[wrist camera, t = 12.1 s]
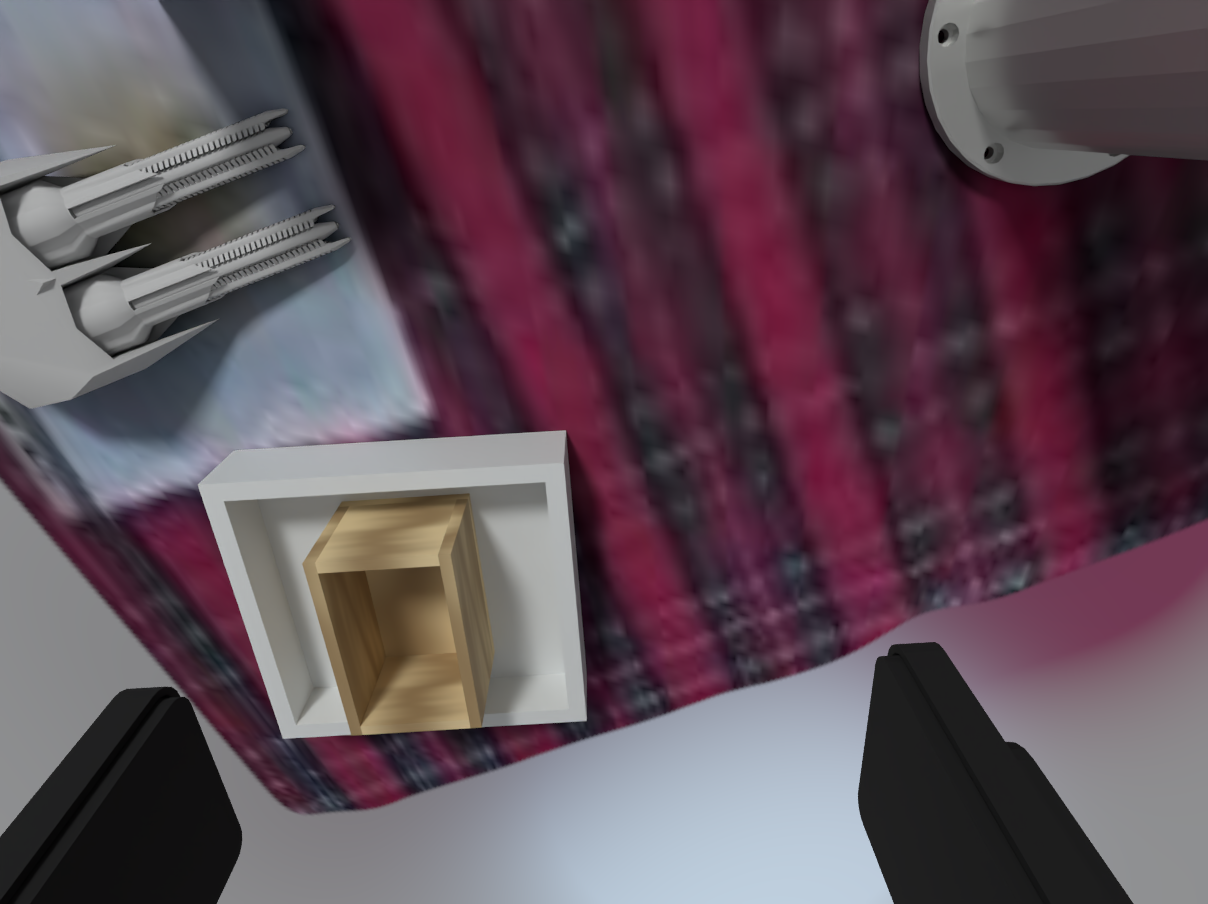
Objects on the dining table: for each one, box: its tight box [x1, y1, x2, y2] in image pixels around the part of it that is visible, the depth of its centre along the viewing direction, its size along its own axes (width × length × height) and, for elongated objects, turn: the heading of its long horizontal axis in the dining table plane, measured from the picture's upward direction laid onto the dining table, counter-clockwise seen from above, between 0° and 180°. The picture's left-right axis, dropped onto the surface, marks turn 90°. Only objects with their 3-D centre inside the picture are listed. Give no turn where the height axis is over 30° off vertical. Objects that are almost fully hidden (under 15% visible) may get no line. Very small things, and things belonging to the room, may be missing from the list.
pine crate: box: [302, 493, 495, 736], centre depth 39 cm, size 7×11×6 cm, turn 4°
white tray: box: [198, 430, 587, 739], centre depth 40 cm, size 18×17×4 cm
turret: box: [0, 108, 351, 409], centre depth 33 cm, size 10×20×5 cm, turn 110°
